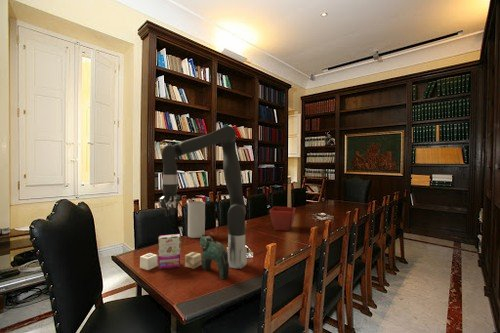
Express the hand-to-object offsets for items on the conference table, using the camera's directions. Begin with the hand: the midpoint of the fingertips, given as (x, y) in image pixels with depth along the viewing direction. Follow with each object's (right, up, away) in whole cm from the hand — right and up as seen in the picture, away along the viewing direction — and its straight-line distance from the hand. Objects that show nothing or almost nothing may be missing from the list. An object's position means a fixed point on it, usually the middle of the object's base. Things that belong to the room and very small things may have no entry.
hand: (169, 215), depth 131 cm
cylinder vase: (+2, -26, +55) cm, 61 cm away
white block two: (-11, -27, 0) cm, 29 cm away
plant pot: (+70, -27, +77) cm, 108 cm away
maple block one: (+12, -27, +2) cm, 30 cm away
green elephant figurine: (+25, -28, -6) cm, 38 cm away
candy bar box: (0, -27, +1) cm, 27 cm away
